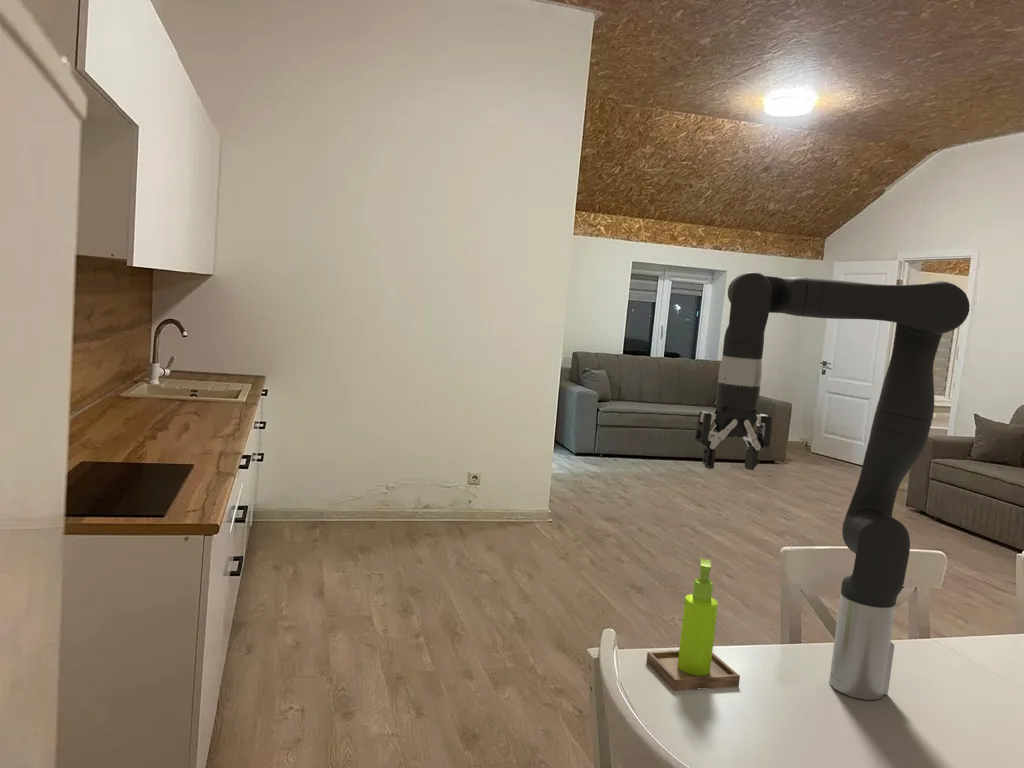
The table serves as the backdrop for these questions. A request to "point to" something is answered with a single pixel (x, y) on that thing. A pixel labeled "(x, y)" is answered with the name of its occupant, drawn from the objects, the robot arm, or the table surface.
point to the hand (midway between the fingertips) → (729, 468)
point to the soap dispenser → (698, 625)
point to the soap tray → (679, 680)
